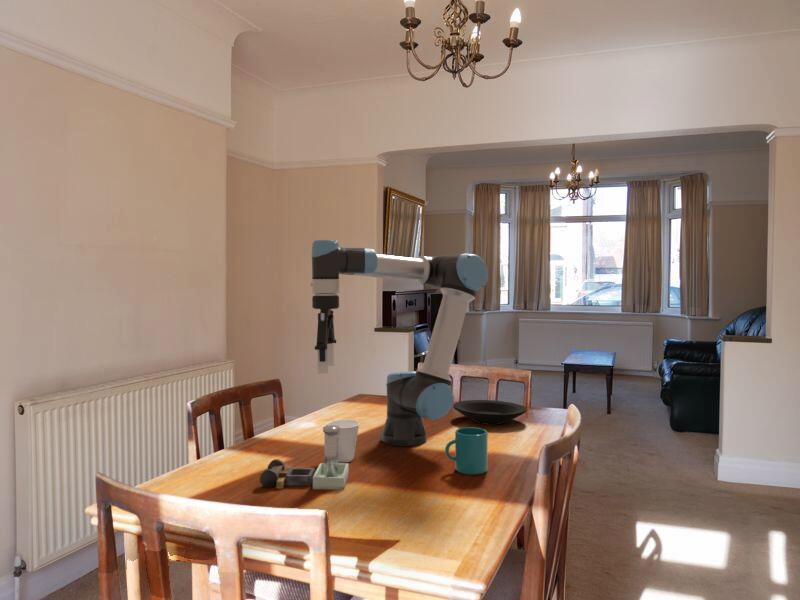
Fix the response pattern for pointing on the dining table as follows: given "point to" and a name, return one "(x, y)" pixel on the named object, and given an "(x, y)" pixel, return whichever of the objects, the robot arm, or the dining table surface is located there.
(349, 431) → the cup
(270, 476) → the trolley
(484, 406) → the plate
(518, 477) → the dining table surface
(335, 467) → the pin
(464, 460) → the cup
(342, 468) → the tray
